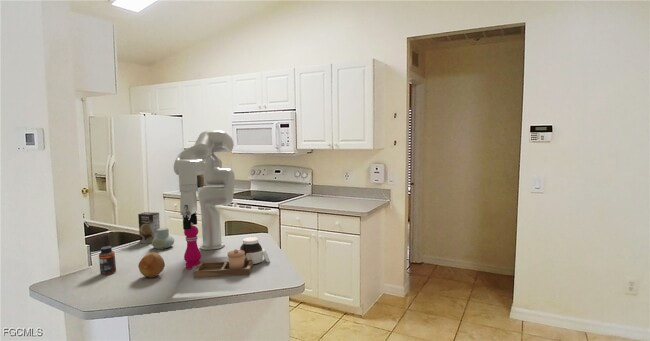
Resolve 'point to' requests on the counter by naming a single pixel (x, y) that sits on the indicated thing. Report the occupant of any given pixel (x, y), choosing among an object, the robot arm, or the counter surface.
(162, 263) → the onion
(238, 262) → the salt crock
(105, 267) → the supplement bottle
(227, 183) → the robot arm
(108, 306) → the counter surface
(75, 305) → the counter surface
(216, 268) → the caddy
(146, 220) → the coffee box
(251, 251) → the spread jar
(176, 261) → the counter surface
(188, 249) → the pepper mill
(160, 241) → the air freshener
